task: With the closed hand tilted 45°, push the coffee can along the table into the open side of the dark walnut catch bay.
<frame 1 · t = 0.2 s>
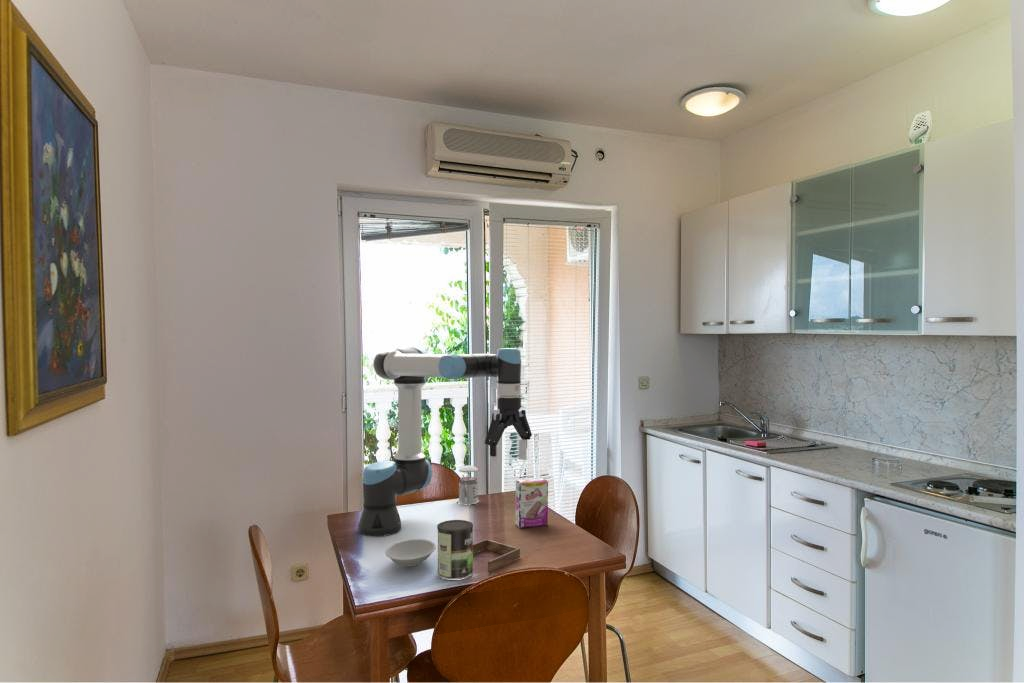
hand: (509, 462, 186), 28 cm above the table, tool pointing down, fingers open, 13 cm apart
coffee can: (455, 574, 168), on the table
dish: (411, 566, 174), on the table
candy bar box: (531, 525, 212), on the table
catch bay: (487, 559, 179), on the table
french press: (467, 503, 242), on the table
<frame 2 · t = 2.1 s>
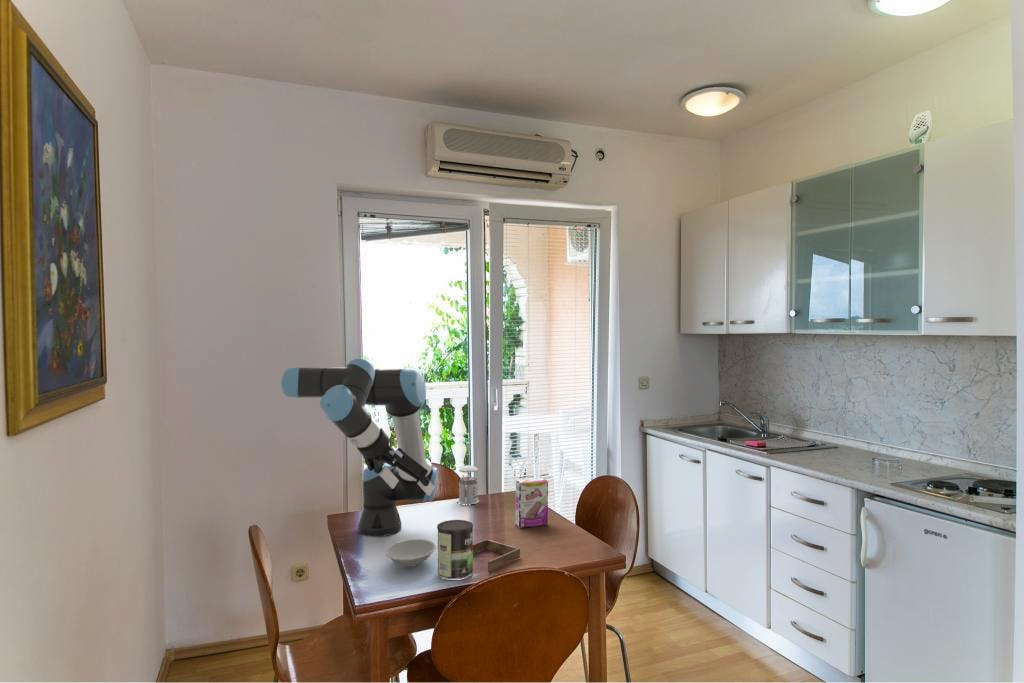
hand: (412, 487, 155), 28 cm above the table, tool tilted 45°, fingers open, 13 cm apart
nothing on the table moved.
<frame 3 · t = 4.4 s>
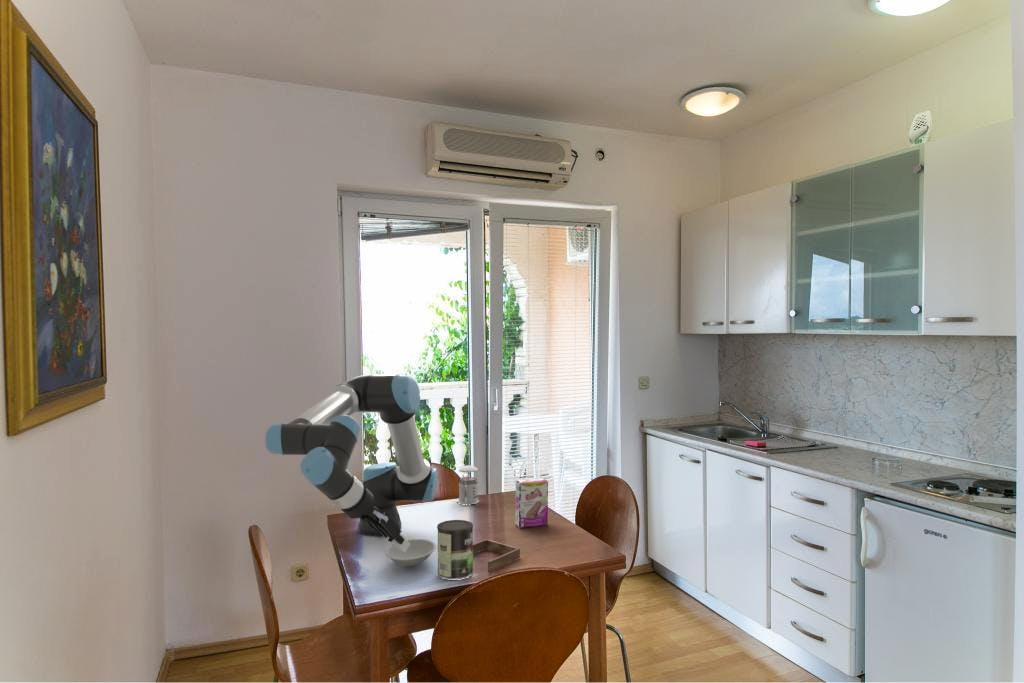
hand: (406, 547, 153), 13 cm above the table, tool tilted 45°, fingers closed
nothing on the table moved.
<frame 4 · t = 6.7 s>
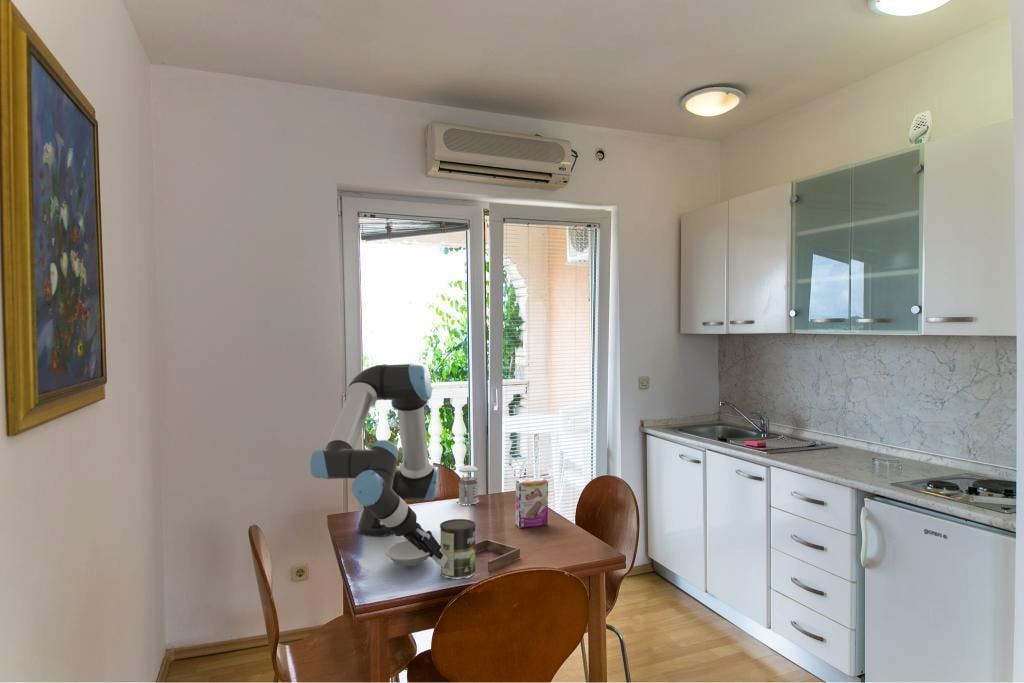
hand: (444, 562, 163), 5 cm above the table, tool tilted 45°, fingers closed
coffee can: (458, 573, 169), on the table, touching gripper
everything else where it was.
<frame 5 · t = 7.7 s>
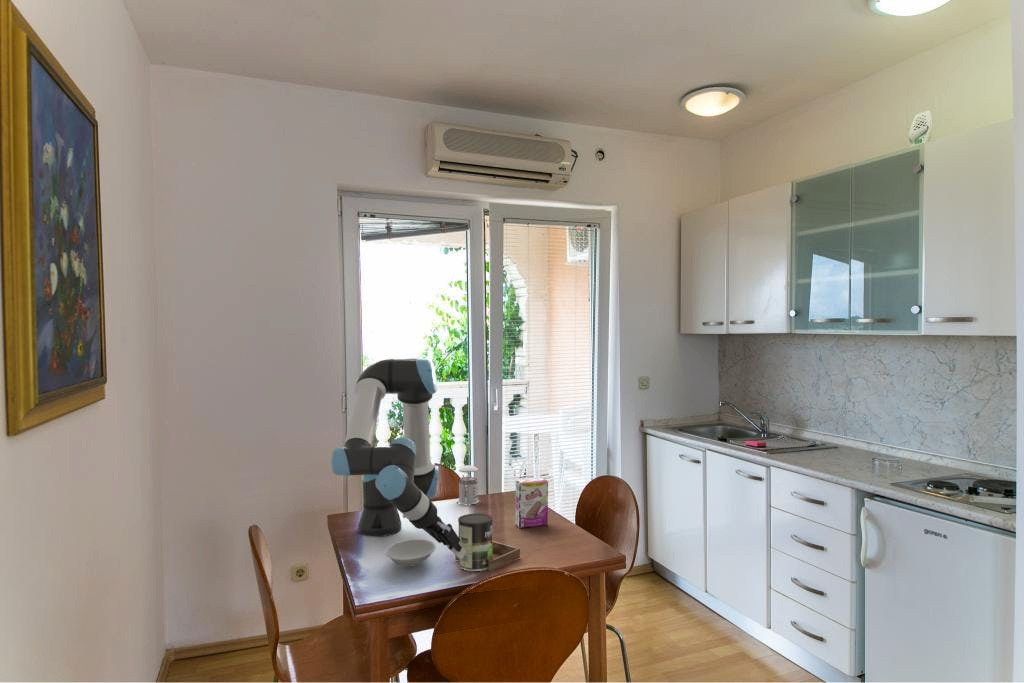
hand: (462, 554, 169), 5 cm above the table, tool tilted 45°, fingers closed
coffee can: (475, 566, 174), on the table, touching gripper
everything else where it was.
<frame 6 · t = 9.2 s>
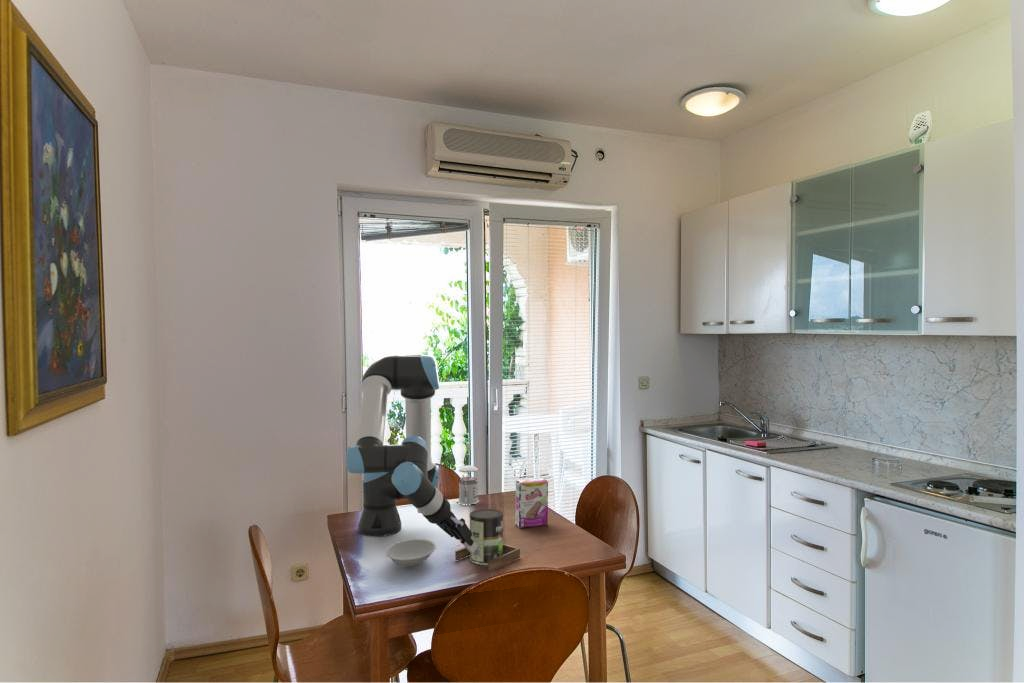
hand: (474, 548, 174), 5 cm above the table, tool tilted 45°, fingers closed
coffee can: (486, 559, 179), on the table, touching gripper
everything else where it was.
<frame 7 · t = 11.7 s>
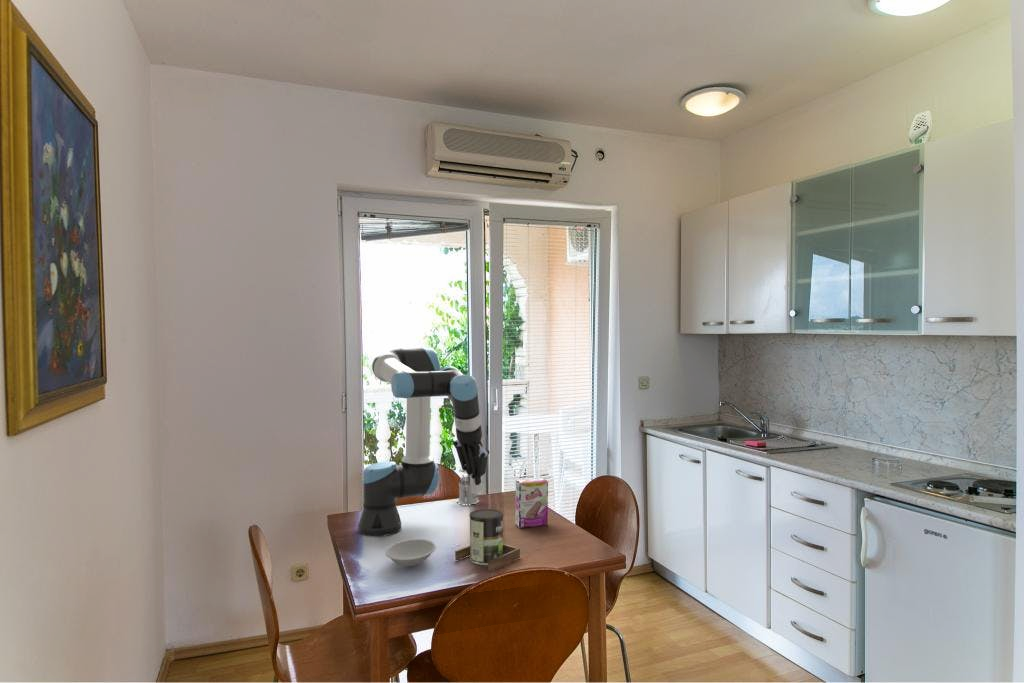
hand: (476, 491, 180), 21 cm above the table, tool tilted 25°, fingers closed
coffee can: (486, 560, 179), on the table
everything else where it was.
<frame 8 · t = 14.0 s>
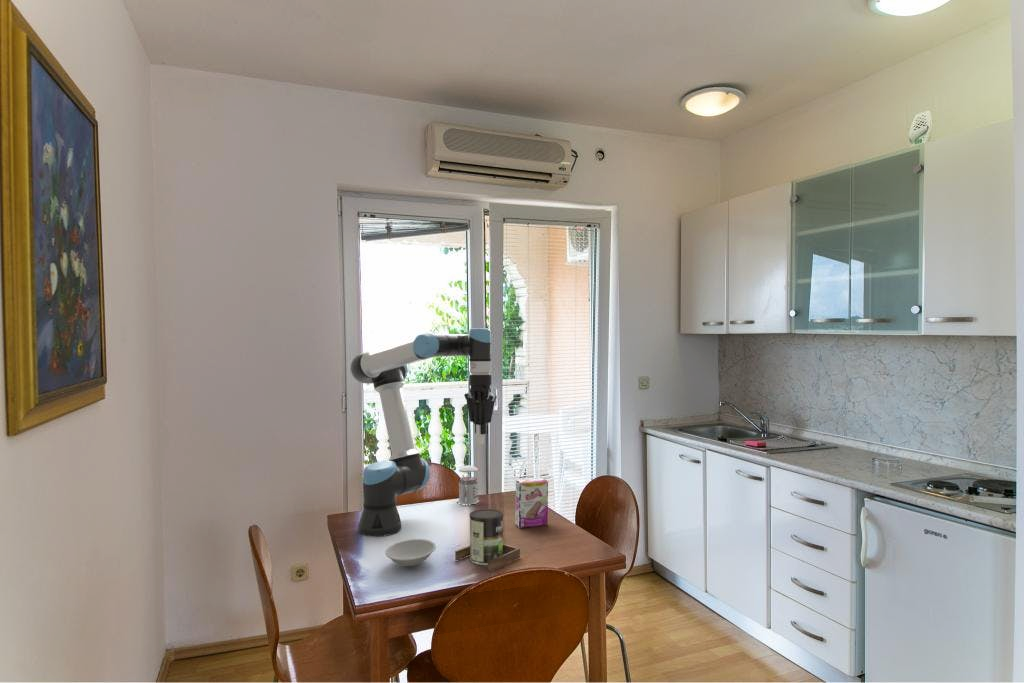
hand: (480, 443, 197), 32 cm above the table, tool pointing down, fingers closed
nothing on the table moved.
at the end: coffee can 0.6 cm off-centre on the catch bay, point 0.0 cm above the catch bay's base; coffee can tilted 0°; coffee can moved 14.0 cm from its start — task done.
